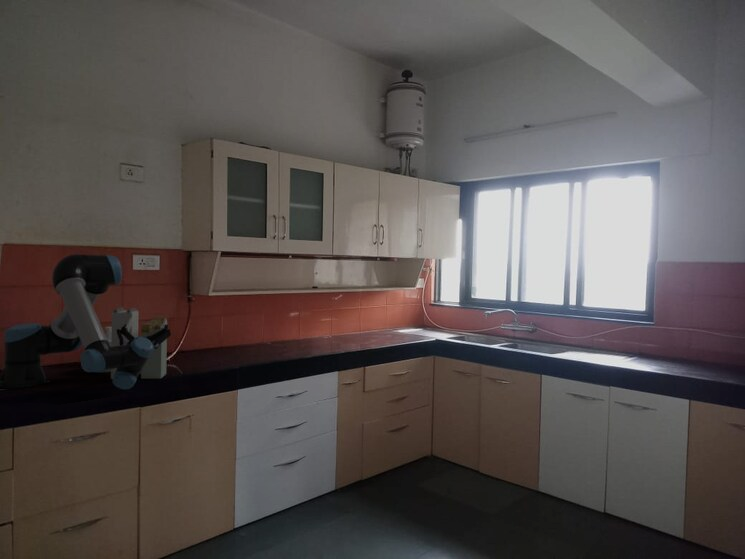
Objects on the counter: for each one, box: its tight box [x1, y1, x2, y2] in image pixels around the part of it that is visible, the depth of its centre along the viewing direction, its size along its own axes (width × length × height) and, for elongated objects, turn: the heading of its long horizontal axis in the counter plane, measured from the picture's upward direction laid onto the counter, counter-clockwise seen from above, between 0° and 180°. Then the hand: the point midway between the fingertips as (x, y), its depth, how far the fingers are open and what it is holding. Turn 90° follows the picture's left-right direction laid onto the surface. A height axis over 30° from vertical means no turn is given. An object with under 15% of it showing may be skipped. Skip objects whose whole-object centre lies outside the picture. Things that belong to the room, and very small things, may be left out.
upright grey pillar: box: [140, 324, 168, 380], centre depth 217 cm, size 8×9×22 cm
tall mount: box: [110, 307, 140, 380], centre depth 215 cm, size 8×9×29 cm
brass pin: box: [140, 316, 167, 334], centre depth 214 cm, size 4×23×4 cm, turn 9°
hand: (148, 320), depth 207 cm, fingers open, 13 cm apart
